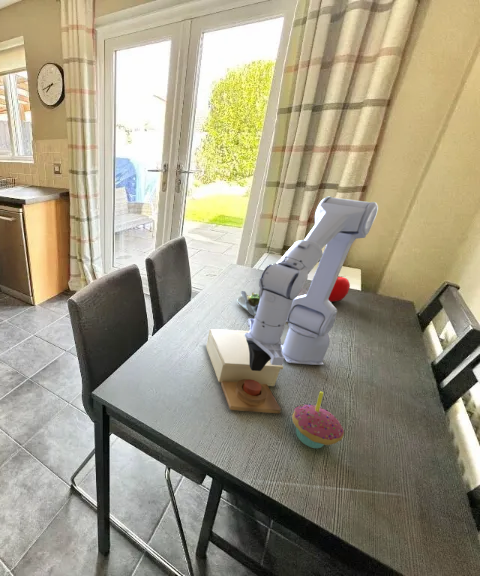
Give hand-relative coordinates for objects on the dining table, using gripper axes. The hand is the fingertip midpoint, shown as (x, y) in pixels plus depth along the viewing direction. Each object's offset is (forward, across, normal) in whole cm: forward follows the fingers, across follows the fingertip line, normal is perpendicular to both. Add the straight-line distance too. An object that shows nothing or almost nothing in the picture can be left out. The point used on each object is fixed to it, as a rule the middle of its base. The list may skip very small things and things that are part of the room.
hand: (255, 368), depth 71 cm
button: (+5, +1, 0) cm, 6 cm away
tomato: (+3, -54, +47) cm, 71 cm away
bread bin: (+8, -11, +1) cm, 13 cm away
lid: (+2, -10, +1) cm, 10 cm away
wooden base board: (+8, +1, 0) cm, 8 cm away
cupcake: (+8, +11, +9) cm, 17 cm away
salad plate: (+8, -43, +20) cm, 48 cm away
